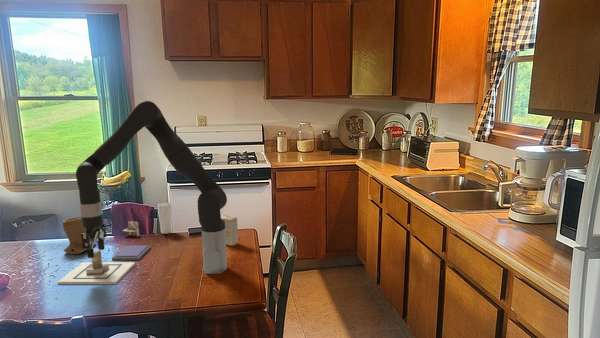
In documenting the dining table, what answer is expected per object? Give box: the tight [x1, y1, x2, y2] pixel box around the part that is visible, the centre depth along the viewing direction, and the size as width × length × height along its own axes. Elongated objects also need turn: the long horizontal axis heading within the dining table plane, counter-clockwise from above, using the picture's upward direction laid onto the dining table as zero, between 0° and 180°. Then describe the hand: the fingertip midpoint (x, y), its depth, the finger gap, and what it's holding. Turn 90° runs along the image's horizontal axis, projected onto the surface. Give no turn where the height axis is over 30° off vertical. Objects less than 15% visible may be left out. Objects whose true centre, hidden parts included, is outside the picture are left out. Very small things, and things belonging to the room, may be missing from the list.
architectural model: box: [122, 221, 140, 238], centre depth 209 cm, size 3×7×7 cm, turn 77°
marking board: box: [57, 261, 136, 285], centre depth 166 cm, size 18×22×1 cm
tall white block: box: [157, 201, 173, 235], centre depth 213 cm, size 7×7×15 cm
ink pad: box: [111, 245, 152, 261], centre depth 186 cm, size 14×12×2 cm
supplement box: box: [221, 214, 239, 247], centre depth 197 cm, size 8×5×13 cm, turn 58°
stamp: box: [86, 250, 109, 275], centre depth 165 cm, size 6×6×8 cm
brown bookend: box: [62, 216, 91, 255], centre depth 191 cm, size 15×12×15 cm
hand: (96, 253), depth 164 cm, fingers open, 8 cm apart
